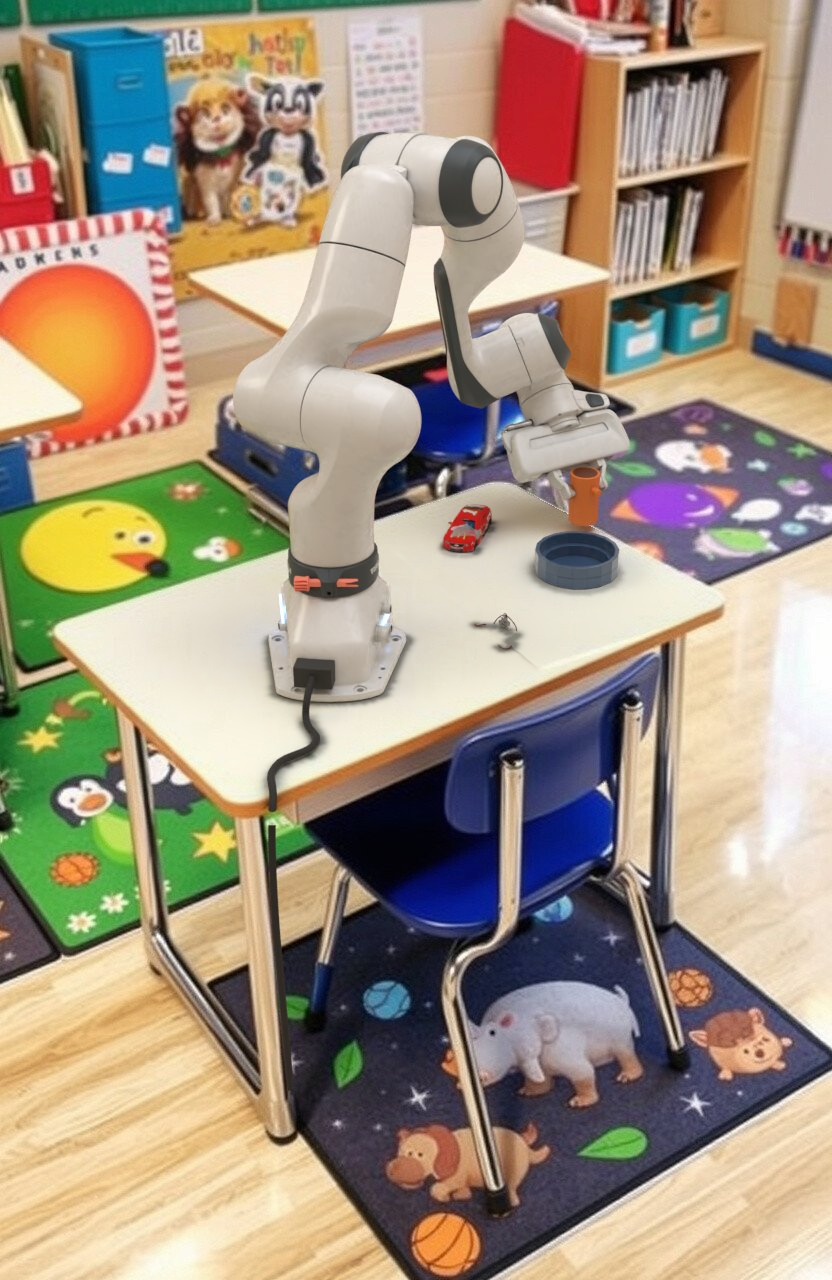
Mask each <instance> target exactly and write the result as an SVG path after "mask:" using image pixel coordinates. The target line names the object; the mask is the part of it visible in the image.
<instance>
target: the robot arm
mask: <svg viewBox="0 0 832 1280" xmlns="http://www.w3.org/2000/svg"><path fill="white" fill-rule="evenodd" d="M413 225H414V226H424V227H425V226H426V227H440V229H441V231H442V234H443V248H442V252H441V254H440V257H439V258H438V259H437V260H436V262H435V263H434V264H433V286H434V291H435V299H436V304H437V310H438V315H439V322H440V326H441V330H442V337H443V342H444V349H445V356H446V375H447V379H448V382H449V385H450V388H451V390H452V392H453V393H454V396H455V397H456V398H457V399H458V400H459V402H460V403H461V404H463V405H466V406H469V407H472V408H477V409H484V408H486V407H487V406H490V405H491V404H494V403H495V402H497V401H499V400H500V399H502V398H504V397H506V396H508V395H511V394H513V393H515V392H516V394H517V397H518V404H519V408H520V411H521V413H522V415H523V416H522V417H523V418H524V420H522V421H519V422H516V423H509V424H507V425H505V428H503V429H502V430H501V433H500V439H501V443H502V445H503V447H504V449H505V450H506V454H507V459H508V462H509V467H510V470H511V474H512V476H513V478H514V479H515V480H516V481H517V482H519V483H520V484H524V483H528V482H533V481H537V480H540V479H544V478H547V480H548V483H549V484H550V485H551V486H552V487H553V488H555V489H556V490H557V491H558V492H560V494H561V497H562V500H563V501H569V499H573V498H574V497H575V496H576V491H575V490H574V487H573V485H570V484H569V485H568V483H567V482H565V480H564V479H563V478H562V476H563V473H568V472H571V470H573V469H575V468H578V467H590V468H594V469H597V470H598V471H599V472H600V489H599V490H601V491H602V492H603V491H604V492H605V491H606V490H607V489H608V488H609V484H608V481H607V479H606V471H607V463H609V462H612V461H616V460H620V459H621V458H622V457H624V456H625V455H626V454H627V453H628V452H629V451H630V446H631V441H630V438H629V436H628V433H627V432H626V430H625V428H624V425H623V424H622V421H621V420H620V418H619V416H618V415H617V413H615V412H614V411H613V410H612V409H609V406H610V404H611V402H610V399H609V397H608V395H607V394H605V393H597V392H590V391H583V390H578V389H575V388H574V385H573V384H572V382H571V381H570V379H569V378H568V377H567V375H566V372H565V370H566V368H567V367H568V364H569V362H570V359H571V356H572V352H571V350H570V348H569V346H568V345H567V343H566V341H565V339H564V337H563V334H562V330H561V326H560V323H559V321H558V319H556V318H555V317H552V316H550V315H547V314H544V313H540V312H537V313H532V312H521V313H519V314H516V315H513V316H511V317H508V318H507V319H506V320H504V321H503V322H502V323H501V324H500V326H499V327H498V328H497V329H495V330H493V331H490V332H489V333H486V334H484V335H481V336H479V337H474V338H473V337H472V331H471V330H472V329H471V323H470V317H469V310H470V308H471V305H472V303H473V302H474V300H475V299H476V298H477V297H478V296H479V294H481V293H482V292H483V291H484V290H485V289H486V288H487V287H488V286H489V285H490V284H491V283H493V282H494V281H495V280H496V279H498V278H499V277H500V276H502V275H503V274H504V273H505V272H506V271H508V269H509V268H510V267H511V266H512V265H513V264H514V262H515V261H516V259H517V258H518V256H519V255H520V253H521V250H522V247H523V245H524V243H525V236H526V230H525V223H524V218H523V214H522V210H521V206H520V204H519V199H518V197H517V195H516V192H515V189H514V187H513V184H512V182H511V180H510V177H509V175H508V173H507V171H506V169H505V166H504V165H503V164H502V161H501V160H500V158H499V156H498V155H497V153H496V152H495V150H494V149H493V147H492V146H491V145H490V144H489V142H487V141H486V140H484V139H483V138H481V137H478V136H475V135H474V136H473V135H460V136H456V137H453V138H451V137H447V136H442V135H441V136H440V135H435V134H434V135H433V134H428V133H427V132H394V133H393V132H392V133H389V132H385V131H377V132H371V133H366V134H364V135H361V136H359V137H357V138H356V139H355V140H354V141H353V142H352V143H351V145H350V146H349V148H348V149H347V151H346V152H345V154H344V156H343V159H342V162H341V167H340V181H339V183H338V186H337V188H336V191H335V192H334V195H333V198H332V200H331V203H330V205H329V208H328V211H327V214H326V217H325V219H324V223H323V226H322V229H321V234H320V237H319V240H318V245H317V250H316V254H315V258H314V262H313V266H312V270H311V274H310V277H309V280H308V284H307V288H306V291H305V295H304V298H303V301H302V303H301V305H300V308H299V310H298V313H297V315H296V316H295V318H294V320H293V322H292V323H291V325H290V326H289V328H288V329H287V330H286V331H285V333H284V335H283V336H282V337H280V339H279V340H278V342H277V343H276V344H274V345H273V346H272V347H271V348H270V349H269V350H267V351H266V352H265V353H264V354H262V355H260V356H259V357H257V358H255V359H253V360H252V361H250V362H249V363H248V364H246V365H245V367H244V368H243V369H242V370H241V371H240V373H239V375H238V377H237V379H236V381H235V384H234V386H233V387H234V388H233V392H232V405H233V410H234V415H235V417H236V420H237V421H238V423H239V425H240V426H241V427H242V428H243V429H244V430H246V431H248V432H249V433H251V434H254V435H255V436H257V437H259V438H262V439H263V440H265V441H268V442H270V443H272V444H275V445H280V446H284V447H288V448H293V449H297V450H301V451H306V452H309V453H313V454H316V456H317V459H318V463H319V465H318V466H319V467H318V472H317V473H314V474H311V475H310V476H307V477H305V478H304V479H302V480H301V481H300V482H298V483H297V485H296V486H294V488H293V490H292V491H291V493H290V495H289V498H288V500H287V512H288V513H287V514H288V527H289V528H288V529H289V542H290V546H289V547H288V550H287V560H286V561H287V563H286V564H287V570H288V571H287V572H288V578H287V579H286V580H285V581H284V582H283V583H281V584H280V593H278V597H279V609H280V618H281V620H278V623H277V628H276V629H274V630H272V631H271V632H269V634H268V647H269V654H270V660H271V666H272V673H273V681H274V687H275V692H276V694H277V695H280V696H281V697H285V698H288V699H292V700H297V701H302V705H301V706H302V708H301V718H302V723H303V726H304V728H305V730H306V731H307V733H308V734H309V735H310V736H311V738H312V740H311V742H310V743H309V744H307V745H306V746H304V747H301V748H299V749H297V750H294V751H291V752H289V753H286V754H284V755H282V756H280V757H279V758H277V759H276V760H275V761H273V762H272V765H270V767H269V768H268V771H267V773H266V774H267V775H266V781H267V786H268V812H270V813H274V812H276V811H277V809H278V807H277V805H278V789H277V782H276V774H277V772H278V770H279V769H280V768H281V767H282V766H283V765H285V764H286V763H289V762H291V761H293V760H296V759H299V758H301V757H304V756H307V755H309V754H311V753H312V752H313V751H315V750H316V748H317V747H318V746H319V744H320V742H321V735H320V733H319V731H318V730H316V728H315V727H314V726H313V725H312V722H311V717H310V709H311V708H310V707H311V702H315V703H317V702H320V703H339V702H353V701H361V700H367V699H371V698H374V697H377V696H380V695H382V694H383V693H384V691H385V689H386V687H387V686H388V683H389V681H390V678H391V676H392V674H393V672H394V670H395V668H396V665H397V663H398V660H399V659H400V656H401V654H402V653H403V650H404V647H405V645H406V643H407V635H406V633H405V632H404V631H403V630H401V629H399V628H397V627H394V626H393V625H394V624H393V612H392V611H393V610H392V609H393V607H392V594H391V593H392V592H391V585H390V584H389V583H388V582H387V581H386V580H384V579H383V578H382V577H381V575H379V572H380V568H379V567H380V554H379V551H378V545H377V543H376V542H375V502H376V494H377V492H378V491H377V490H378V487H379V486H380V482H381V481H382V479H383V477H384V475H386V473H387V471H388V470H390V469H391V468H392V467H394V465H397V464H398V463H399V462H401V461H402V460H404V459H405V458H406V457H407V456H408V455H409V454H410V453H411V452H412V450H413V449H414V447H415V446H416V444H417V442H418V439H419V437H420V434H421V430H422V412H421V407H420V404H419V400H418V398H417V397H416V395H415V393H414V392H413V391H412V390H411V389H410V388H409V387H406V386H404V385H402V384H400V383H398V382H396V381H393V380H391V379H390V378H389V379H388V378H386V377H383V376H381V375H379V374H374V373H370V372H364V371H360V370H354V369H349V368H345V365H346V363H347V361H348V359H349V358H350V356H351V355H352V354H353V353H354V352H355V351H356V350H357V349H358V348H359V347H360V346H362V345H363V344H365V343H367V342H371V341H373V340H375V339H377V338H380V337H381V336H382V335H384V334H385V333H386V332H387V331H388V329H390V326H391V324H392V322H393V321H394V320H393V319H394V315H395V311H396V308H397V303H398V299H399V295H400V290H401V287H402V282H403V277H404V273H405V269H406V266H407V260H408V256H409V250H410V244H411V238H412V231H413ZM276 832H277V824H268V825H267V852H268V853H267V855H268V879H269V896H270V897H269V898H270V911H271V922H272V923H271V925H272V926H271V927H272V937H273V950H274V951H273V952H274V960H275V961H274V962H275V972H276V982H277V993H278V1003H279V1014H280V1023H281V1033H282V1035H281V1036H282V1046H283V1056H284V1057H283V1058H284V1067H285V1079H286V1081H285V1082H286V1090H287V1091H288V1092H292V1091H294V1090H295V1084H294V1083H295V1082H294V1071H293V1059H292V1049H291V1037H290V1025H289V1016H288V1006H287V1005H288V1004H287V994H286V993H287V992H286V984H285V972H284V961H283V950H282V939H281V938H282V937H281V925H280V924H281V923H280V909H279V893H278V874H277V873H278V872H277V833H276Z"/></svg>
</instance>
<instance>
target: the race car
mask: <svg viewBox="0 0 832 1280" xmlns="http://www.w3.org/2000/svg"><path fill="white" fill-rule="evenodd" d="M447 523H448V525H450V526H449V527H448V529H447V531H446V533H444V535H443V539H442V545H443V548H444V549H446V550H447V551H449V552H455V553H470V552H473V551H476V548H477V547H478V546H479V545H480V544H481V542H482V541H483V539H484V537H485V535H486V534H487V532H488V531H489V528H490V527H491V526H492V524H493V515H492V510H491V508H490V507H489V506H488V505H484V504H476V503H469V504H465V505H464V506H463V507H462V508H461V509H460V510H459V512H458V514H457V515H456V516H455V517H454V519H453V520H452V521H448V522H447Z"/></svg>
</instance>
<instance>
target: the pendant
mask: <svg viewBox="0 0 832 1280" xmlns="http://www.w3.org/2000/svg"><path fill="white" fill-rule="evenodd" d="M509 620H510V621H509ZM497 621H498V624H499V625H500V626H501V627H503V628H505V629H506V630H508V631H510V630H511V628H509V627H510V626H511V622H512V624H513V626H514V628H515V632H518V627H517V625H516V623H515V622H514V621H513V619H511V617H510V616H509V615H508V614H507V613H506V612H504V613H503V614H500V615H499V616H498V617H497V618H496V619H495V620H494V622H493V625H495V624H496V622H497ZM474 626H475V627H481V626H487V624H486V623H481V624H476V623H474ZM497 645H498V648H500V649H502V650H510V649H511V648H512V647H513V646H512V645H510V646H509V647H502V646H501V645H500V644H497Z"/></svg>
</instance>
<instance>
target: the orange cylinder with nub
mask: <svg viewBox="0 0 832 1280" xmlns="http://www.w3.org/2000/svg"><path fill="white" fill-rule="evenodd" d="M569 485H573V487H574V490H575V491H576V496H575V497H574V498H573V499H569V500H568V516H567V520H568V522H569V523H570V524H572V525H575V526H577V527H589V526H593V525H596V524H597V523H598V520H599V507H600V497H601V496H602V493H603V491H601V490H599V489H600V472H599V471H598V470H597V469H594V468H591V466H588V467H578V468H575V469H573V470H571V471H569Z"/></svg>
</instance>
